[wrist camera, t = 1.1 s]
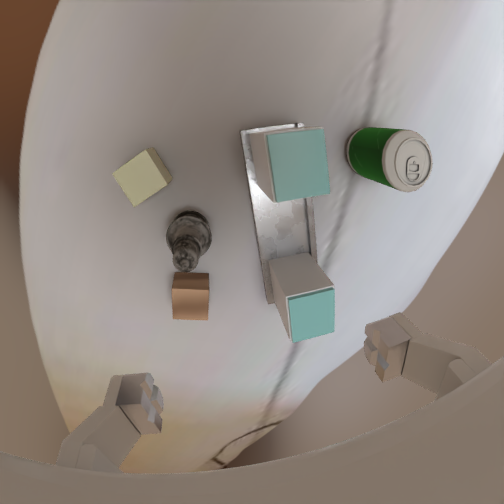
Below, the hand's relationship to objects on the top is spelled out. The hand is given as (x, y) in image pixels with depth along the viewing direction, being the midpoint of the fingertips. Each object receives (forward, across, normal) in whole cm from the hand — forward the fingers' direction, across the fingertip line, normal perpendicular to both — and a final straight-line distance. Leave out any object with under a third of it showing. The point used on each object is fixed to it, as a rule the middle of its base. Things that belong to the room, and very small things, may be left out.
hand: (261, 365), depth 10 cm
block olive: (+31, +9, -6) cm, 33 cm away
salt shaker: (+32, +5, +3) cm, 32 cm away
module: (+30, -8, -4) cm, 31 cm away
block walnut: (+32, +7, +12) cm, 35 cm away
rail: (+32, -8, +4) cm, 33 cm away
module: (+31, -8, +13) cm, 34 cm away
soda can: (+32, -22, -4) cm, 39 cm away
